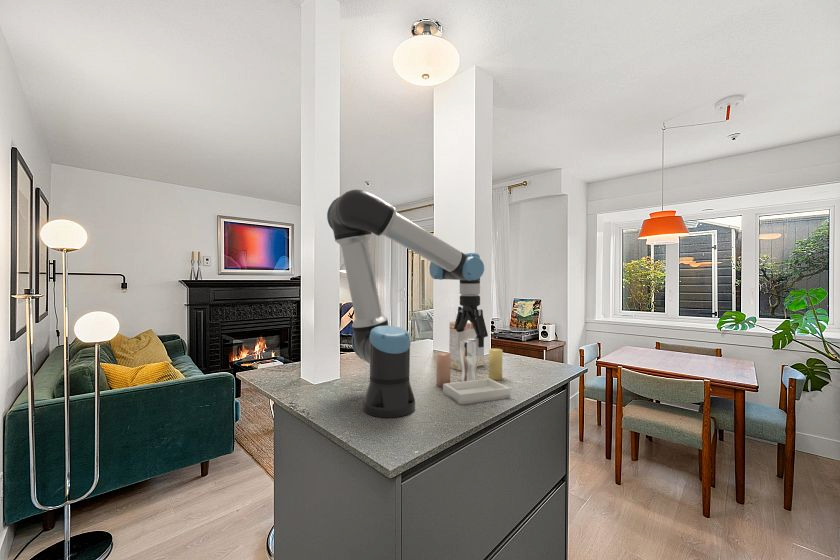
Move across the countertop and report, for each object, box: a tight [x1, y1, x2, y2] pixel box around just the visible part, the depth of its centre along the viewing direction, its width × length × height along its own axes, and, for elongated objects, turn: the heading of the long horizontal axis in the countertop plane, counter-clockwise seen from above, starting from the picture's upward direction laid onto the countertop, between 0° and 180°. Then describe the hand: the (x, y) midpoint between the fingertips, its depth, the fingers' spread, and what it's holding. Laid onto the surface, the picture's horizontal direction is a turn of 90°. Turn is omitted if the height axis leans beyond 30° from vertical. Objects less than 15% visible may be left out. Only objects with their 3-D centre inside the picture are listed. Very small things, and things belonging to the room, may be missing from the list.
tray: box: [442, 377, 511, 405], centre depth 122 cm, size 18×12×3 cm, turn 113°
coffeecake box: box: [448, 320, 485, 372], centre depth 159 cm, size 15×7×20 cm, turn 130°
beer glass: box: [460, 339, 478, 382], centre depth 138 cm, size 7×7×15 cm
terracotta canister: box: [435, 352, 452, 388], centre depth 132 cm, size 5×5×11 cm
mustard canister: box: [488, 347, 504, 381], centre depth 141 cm, size 5×5×11 cm
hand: (469, 352), depth 138 cm, fingers open, 13 cm apart
